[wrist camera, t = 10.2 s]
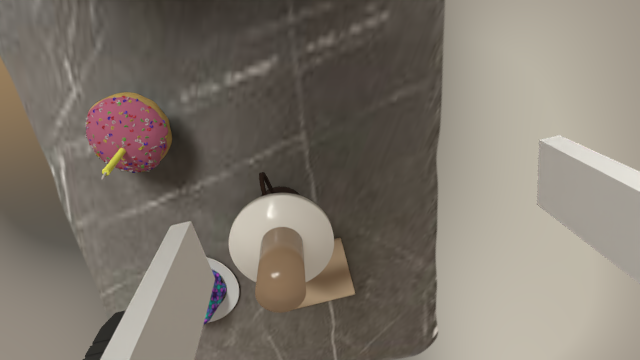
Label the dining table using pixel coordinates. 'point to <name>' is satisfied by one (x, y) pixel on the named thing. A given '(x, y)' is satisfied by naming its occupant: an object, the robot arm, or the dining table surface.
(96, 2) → the dining table surface
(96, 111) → the cupcake
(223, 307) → the pudding
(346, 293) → the cork mat
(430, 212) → the dining table surface
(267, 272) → the lid
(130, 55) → the dining table surface
